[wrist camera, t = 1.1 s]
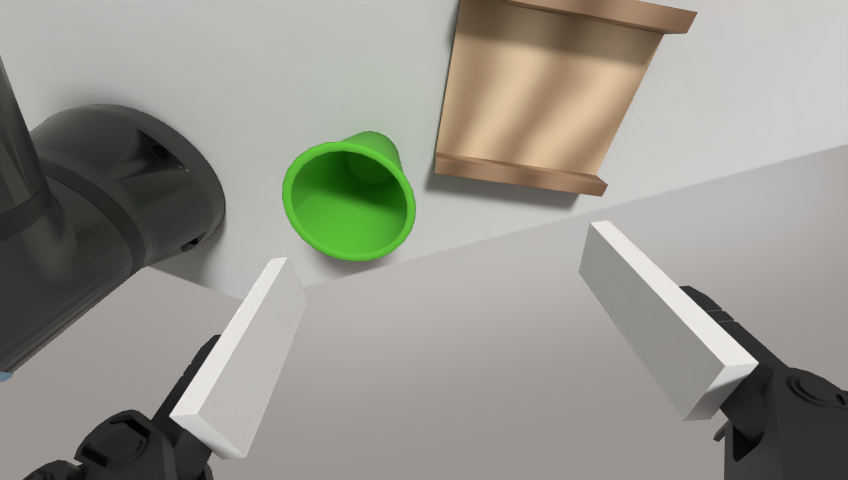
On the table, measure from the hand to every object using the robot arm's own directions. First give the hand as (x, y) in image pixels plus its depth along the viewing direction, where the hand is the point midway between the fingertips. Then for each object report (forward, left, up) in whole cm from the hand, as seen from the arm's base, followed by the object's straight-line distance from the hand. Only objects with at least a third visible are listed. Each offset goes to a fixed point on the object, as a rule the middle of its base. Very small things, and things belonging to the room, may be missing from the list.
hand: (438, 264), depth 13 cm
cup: (-5, -2, -19) cm, 20 cm away
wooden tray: (+9, +5, -18) cm, 21 cm away
